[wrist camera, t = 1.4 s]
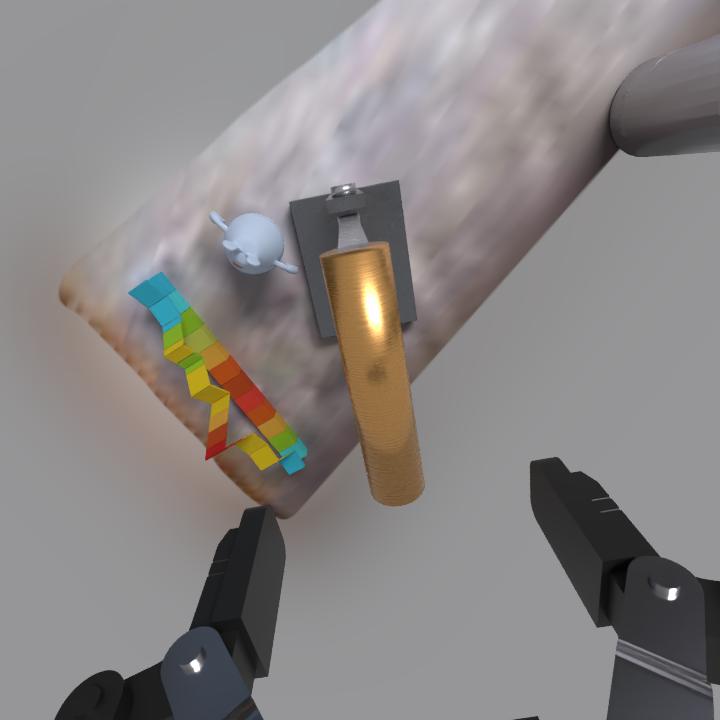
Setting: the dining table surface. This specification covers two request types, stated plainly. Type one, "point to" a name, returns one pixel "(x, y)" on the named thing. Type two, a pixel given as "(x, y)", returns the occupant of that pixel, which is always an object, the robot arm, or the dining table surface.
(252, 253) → the toy figure
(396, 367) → the lever
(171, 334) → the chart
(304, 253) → the lever stand
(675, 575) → the robot arm
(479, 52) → the dining table surface
